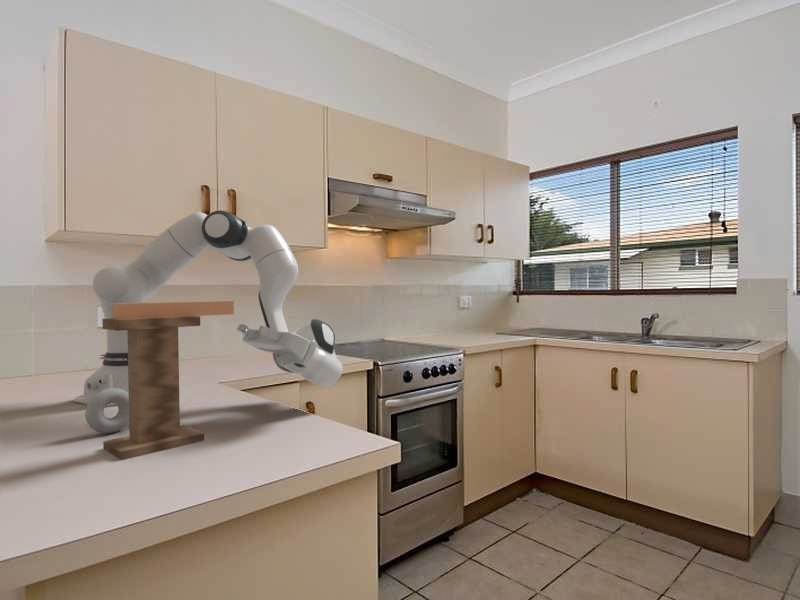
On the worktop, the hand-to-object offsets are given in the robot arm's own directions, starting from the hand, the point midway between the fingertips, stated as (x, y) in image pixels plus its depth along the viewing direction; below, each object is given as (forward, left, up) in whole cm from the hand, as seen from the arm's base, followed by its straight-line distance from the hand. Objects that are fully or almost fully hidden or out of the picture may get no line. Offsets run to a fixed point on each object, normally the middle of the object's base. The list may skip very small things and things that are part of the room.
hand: (249, 327), depth 117 cm
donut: (-25, -16, -23) cm, 38 cm away
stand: (-9, -20, -23) cm, 32 cm away
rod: (-7, -15, +3) cm, 17 cm away
